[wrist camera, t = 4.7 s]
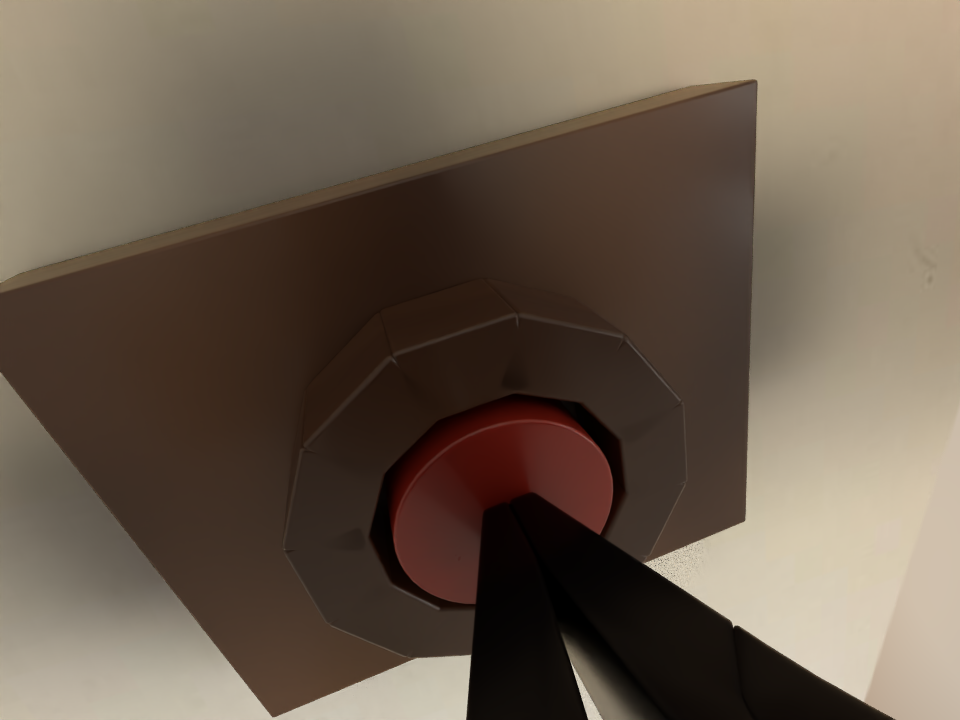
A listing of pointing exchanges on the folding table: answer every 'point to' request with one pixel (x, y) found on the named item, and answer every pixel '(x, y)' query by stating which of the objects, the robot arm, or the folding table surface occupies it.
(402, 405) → the box
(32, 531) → the folding table surface
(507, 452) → the power button
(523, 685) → the robot arm
